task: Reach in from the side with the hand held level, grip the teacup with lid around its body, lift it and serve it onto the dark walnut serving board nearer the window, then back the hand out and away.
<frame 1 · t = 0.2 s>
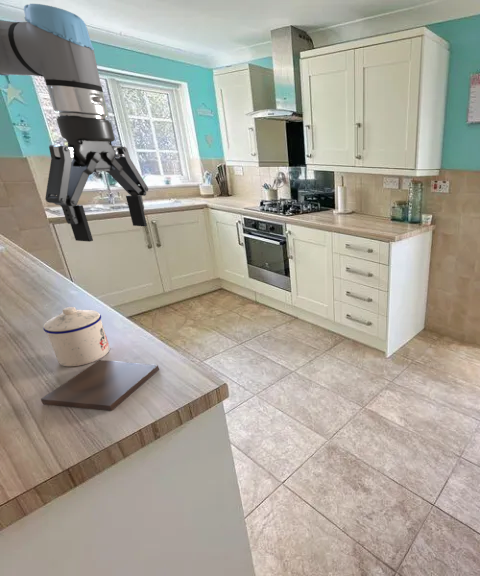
hand: (115, 232, 67), 27 cm above the counter, tool pointing down, fingers open, 13 cm apart
serving board: (105, 385, 64), on the counter
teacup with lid: (84, 353, 73), on the counter
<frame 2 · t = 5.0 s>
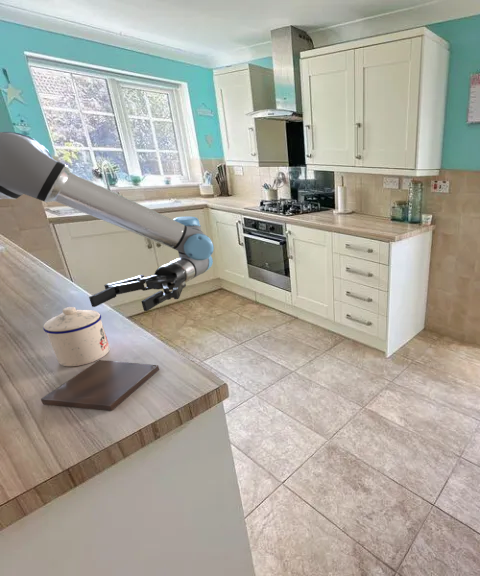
hand: (117, 304, 81), 7 cm above the counter, tool horizontal, fingers open, 13 cm apart
nothing on the counter moved.
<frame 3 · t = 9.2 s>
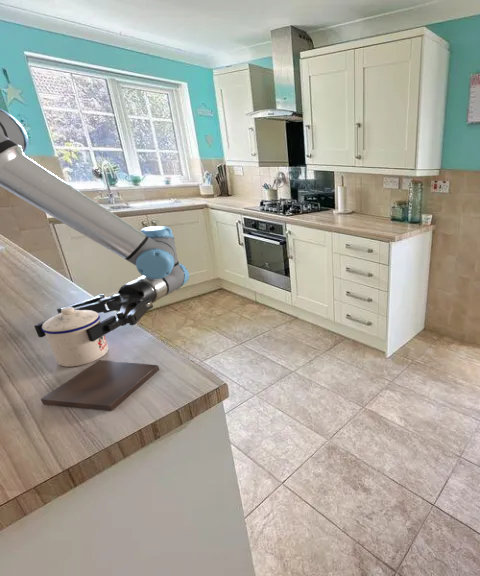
hand: (63, 333, 68), 7 cm above the counter, tool horizontal, fingers closed on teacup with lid, 11 cm apart
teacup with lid: (83, 353, 73), on the counter, touching gripper
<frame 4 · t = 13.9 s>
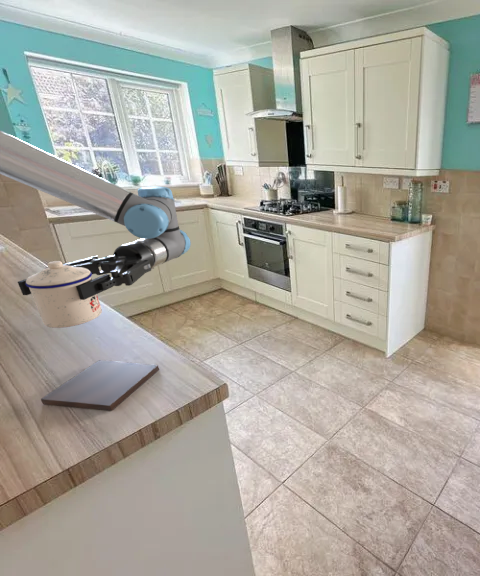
hand: (50, 290, 61), 18 cm above the counter, tool horizontal, fingers closed on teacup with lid, 11 cm apart
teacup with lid: (73, 316, 66), point 11 cm above the counter, touching gripper
when the fingers open (8 cm above the counter, at t = 19.0 s): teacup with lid stays where it is, resting on serving board.
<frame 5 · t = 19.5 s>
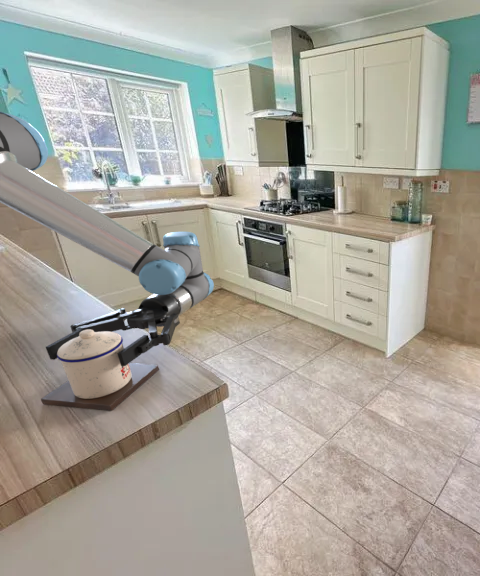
hand: (85, 356, 59), 8 cm above the counter, tool horizontal, fingers open, 13 cm apart
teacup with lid: (102, 381, 63), point 1 cm above the counter, touching serving board
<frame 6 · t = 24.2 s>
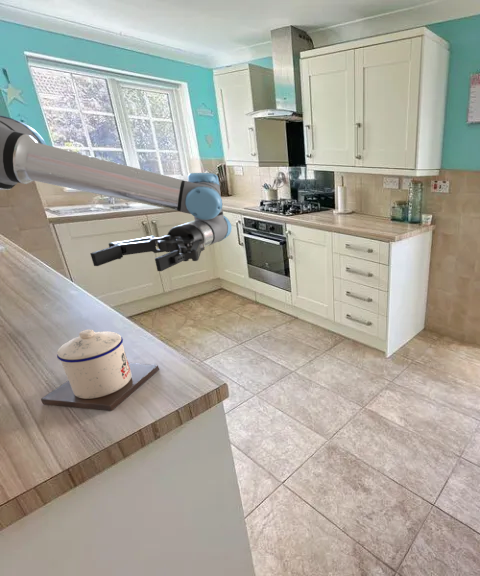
hand: (125, 262, 66), 22 cm above the counter, tool horizontal, fingers open, 13 cm apart
nothing on the counter moved.
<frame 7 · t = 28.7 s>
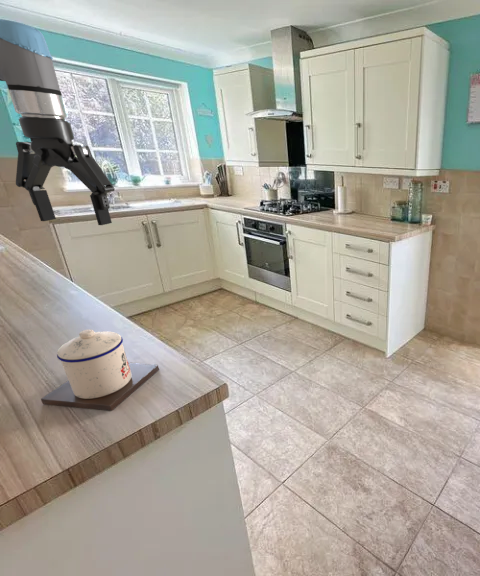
hand: (76, 222, 74), 27 cm above the counter, tool pointing down, fingers open, 13 cm apart
nothing on the counter moved.
at the end: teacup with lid inside the target area on the serving board (0.2 cm from its centre), point 1.0 cm above the serving board's base; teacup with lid tilted 0°; the gripper is holding nothing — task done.
